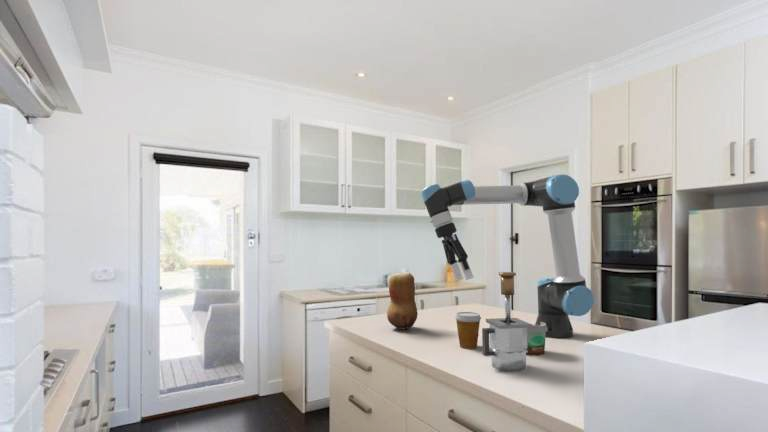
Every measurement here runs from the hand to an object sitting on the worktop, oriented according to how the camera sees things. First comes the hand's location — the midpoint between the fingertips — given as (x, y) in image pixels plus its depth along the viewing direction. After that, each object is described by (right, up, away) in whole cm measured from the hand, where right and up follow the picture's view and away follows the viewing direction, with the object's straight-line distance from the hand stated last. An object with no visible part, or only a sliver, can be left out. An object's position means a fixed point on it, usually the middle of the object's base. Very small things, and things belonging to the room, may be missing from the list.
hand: (464, 279), depth 152 cm
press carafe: (+8, -24, -22) cm, 33 cm away
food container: (+24, -25, -7) cm, 35 cm away
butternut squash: (-21, -27, +32) cm, 47 cm away
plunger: (+10, -12, -21) cm, 26 cm away
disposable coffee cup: (+2, -25, +2) cm, 26 cm away
